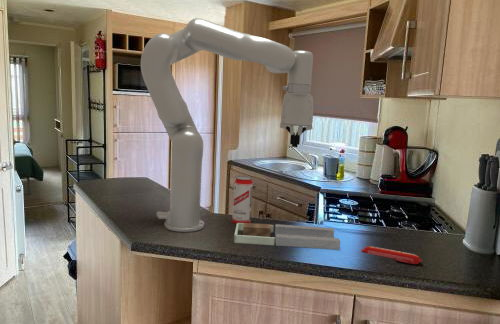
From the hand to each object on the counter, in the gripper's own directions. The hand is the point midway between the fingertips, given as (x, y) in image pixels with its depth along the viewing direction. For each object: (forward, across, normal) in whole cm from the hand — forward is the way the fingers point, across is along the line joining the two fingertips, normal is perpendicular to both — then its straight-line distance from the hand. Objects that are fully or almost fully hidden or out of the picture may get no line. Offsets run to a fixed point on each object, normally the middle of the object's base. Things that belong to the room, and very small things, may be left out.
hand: (294, 146), depth 130 cm
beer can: (+27, -16, -2) cm, 32 cm away
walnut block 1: (+26, -13, -17) cm, 34 cm away
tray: (+27, -11, -16) cm, 34 cm away
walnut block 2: (+26, -9, -17) cm, 33 cm away
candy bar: (+28, +27, -24) cm, 46 cm away
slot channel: (+27, +4, -16) cm, 32 cm away
